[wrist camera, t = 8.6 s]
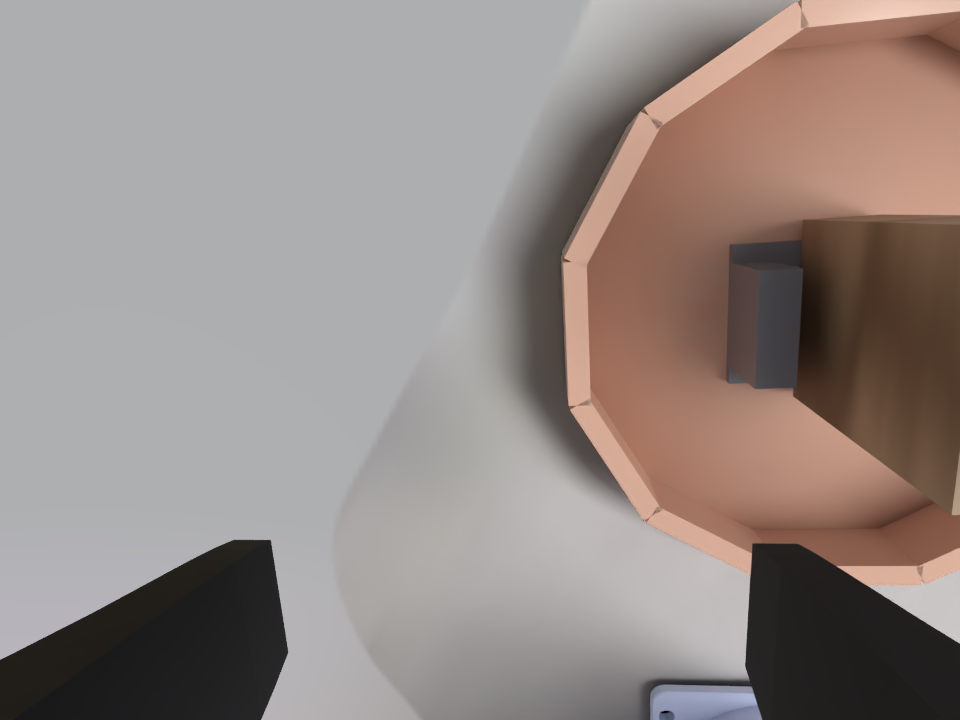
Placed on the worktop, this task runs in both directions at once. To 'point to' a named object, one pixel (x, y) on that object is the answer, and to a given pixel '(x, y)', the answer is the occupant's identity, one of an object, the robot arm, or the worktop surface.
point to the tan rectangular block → (886, 341)
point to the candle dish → (759, 283)
